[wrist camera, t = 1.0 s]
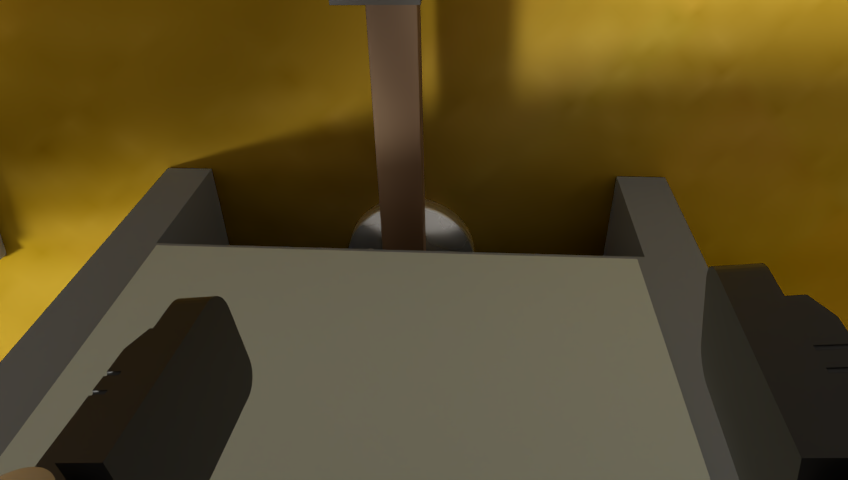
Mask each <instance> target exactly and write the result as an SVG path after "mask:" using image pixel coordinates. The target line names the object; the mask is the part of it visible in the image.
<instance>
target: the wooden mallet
mask: <svg viewBox="0 0 848 480" xmlns="http://www.w3.org/2000/svg"><path fill="white" fill-rule="evenodd" d="M421 1H422V0H329V5H366V19H367V34H368V48H369V62H370V76H371V91H372V105H373V119H374V133H375V147H376V162H377V176H378V190H379V204H380V219H381V233H382V247H383V250H417V251H426V229H425V187H424V144H423V102H422V59H421V17H420V5H421Z"/></svg>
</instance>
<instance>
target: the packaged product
mask: <svg viewBox="0 0 848 480" xmlns="http://www.w3.org/2000/svg"><path fill="white" fill-rule="evenodd" d="M5 255H6V250H5V247H4V244H3V241H2V237H1V234H0V259H1V258H3V257H4V256H5Z"/></svg>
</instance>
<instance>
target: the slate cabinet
mask: <svg viewBox="0 0 848 480" xmlns="http://www.w3.org/2000/svg"><path fill="white" fill-rule="evenodd" d="M708 269H709V268H708V266H707V264H706V262H705V260H704V258H703V256H702V254H701V252H700V250H699V248H698V245H697V243H696V241H695V239H694V237H693V235H692V233H691V231H690V229H689V227H688V225H687V222H686V220H685V218H684V216H683V214H682V212H681V210H680V208H679V206H678V204H677V202H676V199H675V197H674V195H673V193H672V191H671V189H670V187H669V185H668V183H667V181H666V178H665V177H616V183H615V189H614V195H613V201H612V207H611V213H610V219H609V225H608V231H607V237H606V243H605V249H604V254H603V256H592V255H557V254H522V253H487V252H452V251H417V250H382V249H347V248H312V247H276V246H241V245H229V241H228V237H227V233H226V228H225V224H224V220H223V215H222V211H221V207H220V203H219V198H218V194H217V190H216V185H215V181H214V177H213V173H212V169H199V168H168V169H167V170H166V171H165V172H164V173H163V174H162V176H161V177H160V178H159V179H158V180H157V181H156V183H155V184H154V185H153V186H152V187H151V188H150V190H149V191H148V192H147V193H146V194H145V195H144V196H143V198H142V199H141V200H140V201H139V202H138V203H137V205H136V206H135V207H134V208H133V209H132V210H131V212H130V213H129V214H128V215H127V216H126V217H125V218H124V220H123V221H122V222H121V223H120V224H119V225H118V227H117V228H116V229H115V230H114V231H113V232H112V234H111V235H110V236H109V237H108V238H107V239H106V240H105V242H104V243H103V244H102V245H101V246H100V247H99V249H98V250H97V251H96V252H95V253H94V254H93V256H92V257H91V258H90V259H89V260H88V261H87V262H86V264H85V265H84V266H83V267H82V268H81V269H80V271H79V272H78V273H77V274H76V275H75V276H74V278H73V279H72V280H71V281H70V282H69V283H68V284H67V286H66V287H65V288H64V289H63V290H62V291H61V293H60V294H59V295H58V296H57V297H56V298H55V300H54V301H53V302H52V303H51V304H50V305H49V306H48V308H47V309H46V310H45V311H44V312H43V313H42V315H41V316H40V317H39V318H38V319H37V320H36V322H35V323H34V324H33V325H32V326H31V327H30V328H29V330H28V331H27V332H26V333H25V334H24V335H23V337H22V338H21V339H20V340H19V341H18V342H17V344H16V345H15V346H14V347H13V348H12V349H11V350H10V352H9V353H8V354H7V355H6V356H5V357H4V359H3V360H2V361H1V362H0V476H1V475H3V474H6V473H8V472H11V471H14V470H17V469H21V468H26V467H35V466H36V464H37V463H38V462H39V460H40V459H41V458H42V456H43V455H44V454H45V452H46V451H47V450H48V448H49V447H50V446H51V444H52V443H53V442H54V440H55V439H56V438H57V437H58V435H59V434H60V433H61V431H62V430H63V429H64V427H65V426H66V425H67V423H68V422H69V421H70V419H71V418H72V417H73V415H74V414H75V413H76V411H77V410H78V409H79V407H80V406H81V405H82V404H83V402H84V401H85V400H86V398H87V397H88V396H89V395H92V394H93V391H92V390H93V389H94V388H95V386H96V385H97V384H98V382H99V381H100V380H101V378H102V377H103V376H107V371H108V369H109V368H110V367H111V365H112V364H113V363H114V361H115V360H116V359H117V357H118V356H119V355H120V353H121V352H122V351H123V349H124V348H126V347H127V346H128V345H129V344H131V343H132V342H133V341H134V340H136V339H137V338H138V337H139V336H141V335H142V334H143V333H144V332H146V331H147V330H148V329H149V328H153V327H154V326H155V325H156V323H157V322H158V321H159V319H160V318H161V317H162V315H163V314H164V312H165V311H166V310H167V308H168V307H169V306H170V304H171V303H172V302H173V301H174V300H176V299H178V298H194V297H210V296H220V297H222V298H223V299H224V300H225V301H226V303H227V304H228V307H229V309H230V311H231V314H232V316H233V319H234V321H235V324H236V326H237V329H238V331H239V334H240V336H241V339H242V341H243V344H244V346H245V349H246V351H247V354H248V356H249V359H250V362H251V366H252V375H253V377H252V387H251V392H250V395H249V397H248V400H247V402H246V404H245V406H244V408H243V410H242V412H241V414H240V417H239V419H238V421H237V423H236V425H235V427H234V429H233V431H232V434H231V436H230V438H229V440H228V442H227V444H226V446H225V448H224V450H223V453H222V455H221V457H220V459H219V461H218V463H217V465H216V467H215V470H214V472H213V474H212V476H211V478H210V480H739V478H738V475H737V472H736V469H735V466H734V463H733V460H732V457H731V454H730V451H729V449H728V446H727V443H726V440H725V437H724V434H723V431H722V428H721V425H720V422H719V420H718V417H717V414H716V411H715V408H714V405H713V402H712V399H711V396H710V393H709V391H708V388H707V385H706V381H705V377H704V373H703V367H702V358H701V337H702V324H703V311H704V299H705V286H706V276H707V271H708Z"/></svg>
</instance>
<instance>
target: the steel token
mask: <svg viewBox="0 0 848 480" xmlns="http://www.w3.org/2000/svg"><path fill="white" fill-rule="evenodd" d="M425 229H426V251H452V252H474V243H473V239H472V236H471V233H470V231H469V229H468V228H467V226H466V225H465V223H464V222H463V221H462V219H461V218H460V217H459V216H458V215H457V214H455V213H454V212H453V211H451V210H450V209H449V208H447V207H445V206H444V205H441V204H439V203H437V202H434V201H431V200H428V199H425ZM348 249H382V250H383V247H382V233H381V219H380V204H377V205H375V206H374V207H372V208H370V209H369V210H368V211H367V212H365V214H364V215H363V216H362V217H361V218H360V219H359V221H358V222H357V224H356V226H355V228H354V230H353V233H352V237H351V240H350V243H349V247H348Z"/></svg>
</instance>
